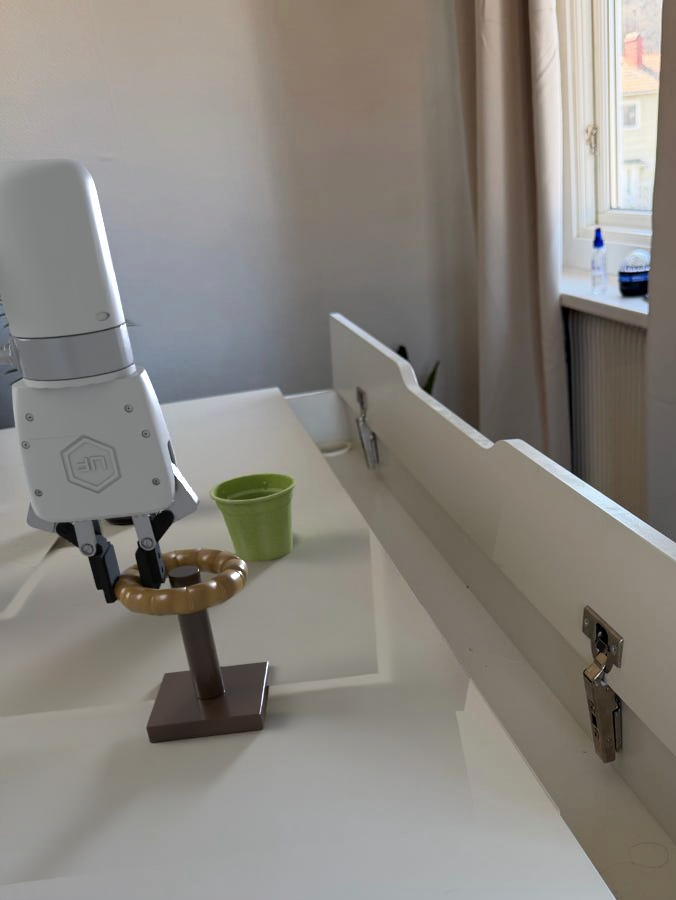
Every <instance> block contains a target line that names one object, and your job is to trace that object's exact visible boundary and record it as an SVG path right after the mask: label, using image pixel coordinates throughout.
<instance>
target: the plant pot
mask: <svg viewBox="0 0 676 900" xmlns="http://www.w3.org/2000/svg"><path fill="white" fill-rule="evenodd" d="M296 484H297V482H296V479H295V477H293V476H291V475H289V474H286V473H279V472H278V473H277V472H263V473H251V474H245V475H240V476H236V477H232V478H230V479H226V480H224V481H221V482H220V483H217V484H215V485H214V486H213V487H211V489H210V490H209V497H210V498H211V500H213V501H214V502H215V504H216V506H217V508H218V510H219V511H220V512H221V515H222V517H223V520H224V522H225V525H226V528H227V531H228V534H229V536H230V539H231V542H232V545H233V548H234V551H235V554H236V556H237V557H238V558H240V559H241V560H243V561H244V562H252V563H254V562H255V563H256V562H257V563H258V562H259V563H260V562H268V561H273V560H276V559H280V558H282V557H285V556H286V555H288V554H290V553H291V552H292V551H293V549H294V548H293V519H292V517H293V513H292V500H293V498H294V488H296Z"/></svg>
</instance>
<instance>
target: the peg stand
mask: <svg viewBox="0 0 676 900" xmlns="http://www.w3.org/2000/svg"><path fill="white" fill-rule="evenodd" d="M167 579H168V581H169V587H170V589H172V588H183V587H188V586H192V585H195V584H198V583H202V582H203V581H202V575H201V573H200V571H199V568H198V567H196V566H182V567H178V568H175V569H173V570H171V571H170V572H169V573H168V578H167ZM176 616H177V620H178V621H177V622H178V625H179V629H180V633H181V638H182V639H181V640H182V642H183V647H184V652H185V655H186V660H187V664H188V668H189V670H180V671H174V672H173V671H172V672H164V674H163V677H162V680H161V682H160V685H159V688H158V692H157V695H156V697H155V700H154V703H153V706H152V709H151V712H150V715H149V718H148V720H147V724H146V726H145V729H146V732H147V736H148V741H149V742H150V743H157V742H166V741H167V742H168V741H175V740H184V739H192V738H199V737H200V738H201V737H209V736H217V735H218V736H219V735H224V734H225V735H226V734H234V733H241V732H242V733H243V732H250V731H259V730H264V729H265V728H264V726H265V720H266V712H267V705H268V698H269V691H270V685H267V684H268V678H269V672H270V663H269V661H259V662H251V663H250V662H249V663H244V664H235V665H225V666H220V660H219V656H218V652H217V651H218V650H217V646H216V642H215V637H214V632H213V627H212V621H211V619H210V614H209V608H207V609H204V610H201V611H198V612H195V613H191V614H181V615H176Z"/></svg>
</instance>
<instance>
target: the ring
mask: <svg viewBox="0 0 676 900" xmlns="http://www.w3.org/2000/svg"><path fill="white" fill-rule="evenodd" d="M161 555H162V559H163V563H164V568H165V573H166V579H169V578H168V573H169V572H170V571H171V570H173V569H175V568H178V567H182V566H196V567H198V568H199V571H200V574H201V573H203V574H212V575H216V576H213V577H212V578H210V579H209V580H205V581H202V583H198V584H195V585H192V586H188V587H183V588H172V589H171V588H161V589H152V588H145V587H143V586H142V583H141V579H140V574H139V570H138V566H137V563H134V564H132V565H131V566H129V567H128V568H126V569H124V570H123V571H122V572H121V573H120V574H121V576H120V578H119V580H118V581H117V583H116V585H115V588H114V594H115V597H116V598H117V601H118V602H120V604H122V605H123V606H124V607H125V608H126V609H127V610H128V611H130V612H132V613H134V614H139V615H140V614H141V615H147V616H155V617H168V616H177V615H181V614H191V613H195V612H198V611H201V610H204V609H207V608H208V609H211V608H214V607H217V606H220V605H222V604H224V603H226V602H228V600H230V599H232V598H233V597H234V596H236V595H237V594H239V593H240V592H241V591H243V589H244V588H245V586H246V584H247V578H248V574H249V567H248V564H247V563H246V561H244V560H242V559H240V558H238V556H237V555H235V554H234V553H232V552H231V551H228V550H223V549H214V548H206V547H198V548H189V549H188V548H187V549H175V550H171V551H168V552H163V553H161Z"/></svg>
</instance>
